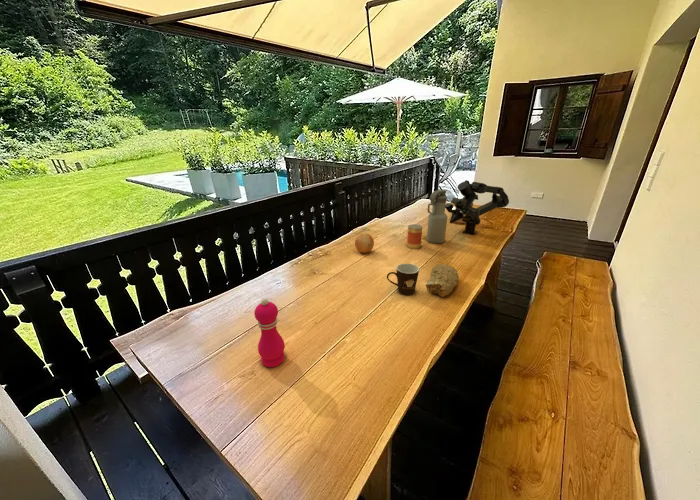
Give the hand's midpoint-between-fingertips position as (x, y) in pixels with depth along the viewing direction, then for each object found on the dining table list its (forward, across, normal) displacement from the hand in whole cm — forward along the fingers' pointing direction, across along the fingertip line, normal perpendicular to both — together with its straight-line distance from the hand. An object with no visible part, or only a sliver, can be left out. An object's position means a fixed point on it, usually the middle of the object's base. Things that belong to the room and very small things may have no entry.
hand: (450, 222), depth 168 cm
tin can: (+24, 0, -12) cm, 27 cm away
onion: (+43, -6, -31) cm, 54 cm away
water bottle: (+14, 0, -1) cm, 14 cm away
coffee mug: (+48, +34, -35) cm, 69 cm away
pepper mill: (+86, +47, -74) cm, 123 cm away
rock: (+36, +39, -24) cm, 58 cm away
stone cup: (-14, -18, +27) cm, 36 cm away
